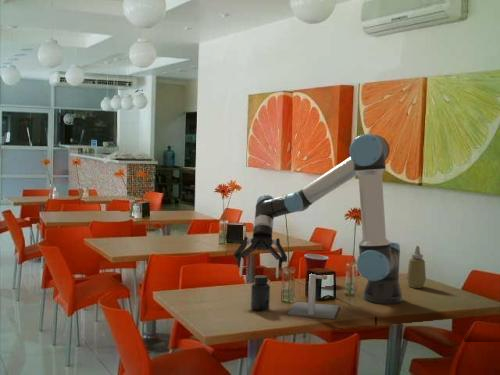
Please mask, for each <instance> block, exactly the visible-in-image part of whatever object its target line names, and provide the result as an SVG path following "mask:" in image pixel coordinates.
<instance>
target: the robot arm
mask: <svg viewBox="0 0 500 375" xmlns="http://www.w3.org/2000/svg"><path fill="white" fill-rule="evenodd" d="M389 156H390V145H389V143H388V141H387V139H385V138H384V137H382V136H381V135H377V134H373V133H364V134H360V135H358V136H357V137H355V138H354V139H353V140H352V142H351V144H350V146H349V157H348V158H346V159H345V160H343V161H342V162H340V163H339V164H337V165H336V166H334V167H333V168H331V169H330V170H328V171H327V172H325V173H323V174H322V175H321V176H319V177H318V178H316V179H315V180H314V181H312V182H310V183H309V184H307V185H305V187H303V188H301V189H300V190H299V191H298V190H297V192H291V193H286V194H284V195H281V196H278V197H273V196H271V195H269V194H267V195H266V194H263V195H261V196H259V197H258V198H257V200H256V203H255V212H254V214H255V215H254V221H253V231H252V238H248V236H245V237H244V239H243V242H242V243H241V244H240V245H239V247H238V248H237V249H236V250H235V252H234V253H233V259H234V260H236V261H237V263H236V264H237V268H239V271H238V272H239V273H238V274H239V277H242V275H243V269H244V268H243V267H244V259H246V258H247V257H248V256H249V255H250V254H251V253H253V252H255V251H256V250H257V251H265V252H266V250H267V252H268V253H270V254H271V255H272V256H273V257H274V259H275V260H276V271H275V278H276V279H279V272H280V270H282V269H283V263H287V262H288V256H287V254H286V252H285V250H284V249H283V246H282V245H281V242H280V241H281V240H280V238H276V239H273V229H274V228H273V227H274V218H278V217H281V216H284V215H289V214H293V213H297V212H298V213H299V212H303V211H306V210H307V209H308V208H310V206H312V205H313V204H314V203H315V202H317V201H319V200H321V199H322V198H324V197H325V196H327V195H328V194H330V193H332V192H333V191H334V190H336V189H337V188H340V186H342V185H344V184H346V183H347V182H348V181H350V180H352V179H353V178H355V177H356V176H358V185H359V186H358V188H359V190H358V191H359V204H360V217H361V218H360V219H361V221H360V222H361V234H362V239H361V241H360V242H358V250H359V252H358V253H359V254H358V255H359V256H358V258H357V260H356V261H357V262H356V267H357V271H358V272H359V275H360V276H362V278H364V279H366V280H367V282H366V285H365V286H364V290H363V293H362V294H363V296H362V298H363V299H364V300H365V301H367V302H371V303H375V304H376V303H377V304H386V305H388V304H391V305H392V304H400V303H402V302H403V293H402V288H401V285H400V281H399V278H400V277H399V276H400V255H401V246H400V243H398V242H390V240H388V239H387V234H386V233H387V232H386V220H385V219H386V218H385V201H384V200H385V199H384V188H383V187H384V186H383V173H384V172H385V171H386V169H387V168H386V167H387V166H386V161H387V159H388V157H389ZM250 243H251V244H250ZM249 244H250V245H249ZM248 245H249V246H248ZM273 245H274V246H275V247H276V250H275V248H274V247H273ZM247 246H248V247H247ZM277 250H278V252H277Z"/></svg>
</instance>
